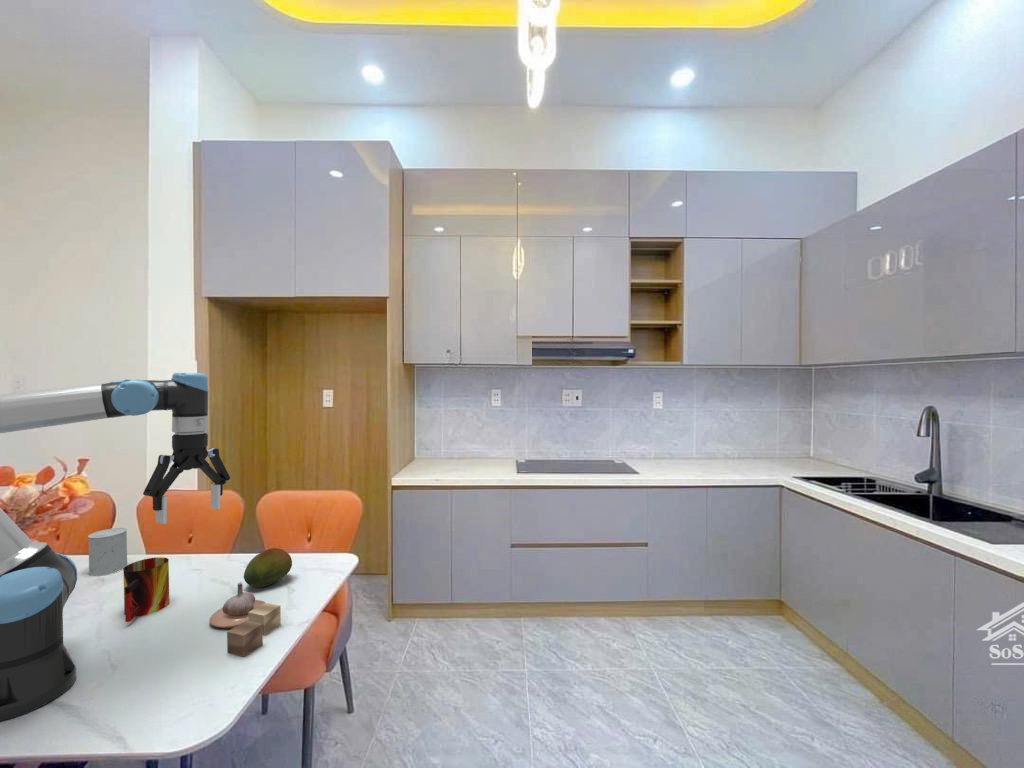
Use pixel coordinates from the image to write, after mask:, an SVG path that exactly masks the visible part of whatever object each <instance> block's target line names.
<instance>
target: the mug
mask: <svg viewBox="0 0 1024 768" xmlns="http://www.w3.org/2000/svg"><path fill="white" fill-rule="evenodd" d="M169 567H170V563H169V558H167V557H163V556H159V557H158V556H157V557H149V558H144V559H140V560H136V561H134V562H131V563H129V564H127V566H125V567H124V569H123V570H122V571H123V573H122V574H123V605H124V607H123V609H124V610H123V611H124V616H125V617H124V618H125V619H124V621H125V622H124V623H129V622H131V621H132V620H134V618H137V617H138V618H139V617H144V616H147V615H152V614H154V613H157V612H159V611H161V610H164V609H165V608H166V607H168V606H169V604H170V575H169V574H170V570H169V569H170V568H169Z"/></svg>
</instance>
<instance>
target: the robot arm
mask: <svg viewBox="0 0 1024 768" xmlns="http://www.w3.org/2000/svg"><path fill="white" fill-rule="evenodd" d="M208 383H209V382H208V376H207V375H206V374H205V373H202V372H174V373H173V374H172V376H171V379H167V380H158V379H157V380H155V379H154V380H153V379H152V380H150V379H122V380H121V379H117V380H115V379H114V380H111V381H110V382H107V383H96V384H95V383H94V384H88V385H79V386H78V385H77V386H65V387H57V388H49V389H40V390H38V389H37V390H29V391H20V392H10V393H0V434H5V433H12V432H20V431H27V430H33V429H41V428H47V427H54V426H61V425H69V424H75V423H83V422H89V421H97V420H103V419H114V418H119V417H120V418H121V417H126V416H127V417H128V416H135V417H136V416H141V415H146V414H148V413H150V412H151V411H152V412H153V411H171V413H172V414H171V416H172V417H171V432H172V433H174V434H172V435H171V449H172V454H171V455H168V454H160V455H158V459H157V465H156V467H155V468H154V470H153V473H152V474H151V477H150V479H149V480H148V482H147V483H146V487H145V488H144V491H143V492H142V494H143V496H146V497H151V498H152V509H153V511H155V523H156V524H159V525H160V524H161V525H166V524H167V522H168V519H167V518H168V516H167V515H168V513H167V512H168V498H167V497H168V496H167V495H165V494H166V492H167V491H168V490H169V489H170V488H171V486H172V485H173V483H174V482H175V481H176V479H177V478H178V477H179V475H180V474H182V473H183V472H184V471H190V470H192V469H193V470H197V469H200V471H201V472H203V473H204V474H205V475H206V476H207V477H208V478H209V479H210V480H211V481H212V483H211V484H210V509H211V510H221V496H223V494H224V493H223V492H224V491H223V486H224V485H225V484H226V483H227V481H230V479H231V476H230V474H229V472H228V471H227V468H226V467H225V465H224V463H223V460H222V458H221V456H220V451H219V450H220V449H219V448H214V447H213V448H211V447H210V448H208V449H207V447H208V445H209V442H208V441H209V435H208V433H207V432H206V431H208V430H209V429H208V427H209V424H208V423H209V419H208V418H209V415H208V414H209V384H208ZM207 457H208V458H209V461H210V463H211V464H212V466H213V468H212V467H211V464H210V463H209V462H208V461H207V460H206V459H207ZM172 462H173V463H172ZM171 463H172V465H171V466H170V464H171ZM164 495H165V496H164ZM77 581H78V568H77V566H76V564H75V562H74V561H73V560H72V559H71V558H70V557H68V556H67V555H65V554H62V553H59V552H55V550H54V549H53V548H52V547H50V545H49V544H48V543H47V542H40V541H38V542H36V541H32V540H31V539H30V538H29V536H28V535H26V533H25V532H24V531H23V530H22V529H21V528H20V526H18V524H16V523H15V521H14V520H12V518H11V517H10V516H9V515H8V514H7V513H6V512H5V511H4V510H3V509H2V508H1V507H0V722H2V721H5V720H9V719H13V718H15V717H19V716H22V715H24V714H27V713H29V712H31V711H33V710H36V709H39V708H40V707H43V706H45V705H46V704H48V703H50V702H52V701H54V700H55V699H57V698H59V697H60V696H62V695H63V694H64V693H65V692H66V691H69V690H70V688H71V687H72V686H73V685H74V683H75V682H76V679H77V668H76V665H75V662H74V661H73V659H72V657H71V655H70V653H69V651H68V650H67V648H66V646H65V644H64V643H65V642H64V618H63V616H64V615H63V614H64V613H63V612H64V607H65V605H66V603H67V602H68V599H69V598H70V596H71V594H72V593H73V591H74V590H75V587H76V584H77Z"/></svg>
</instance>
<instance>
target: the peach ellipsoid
mask: <svg viewBox="0 0 1024 768" xmlns="http://www.w3.org/2000/svg"><path fill="white" fill-rule="evenodd" d="M264 603H266V602H265V601H263V600H258V599H257V600H256V599H255V602H254V604H253V606H254V607H253V609H255V608H257V607H258V606H260V605H262V604H264ZM246 620H247V621H248V614H244V615H227V614H225V613H224V612H223V607H221V608H219V609H218V610H216V611H215V612H214V613H213V614H211V616H210V617H209V623H210V625H211V626H213V627H215V628H220V629H232V628H234V627H236V626H238V625H239V624H241V623H243V622H245V621H246Z"/></svg>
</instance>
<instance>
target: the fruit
mask: <svg viewBox="0 0 1024 768" xmlns="http://www.w3.org/2000/svg"><path fill="white" fill-rule="evenodd" d="M292 566H293V561H292V557H291V555H290V554H289V552H288V551H286V550H284V549H281V548H279V547H271V548H267V549H265V550H263V551H261V552H259V553H258V554H257V555H255V556H253V558H252V559H251V560H250V561H249V562H248V564H247V565H246V567H245V570H244V574H243V579H244V581H245V583H246V584H247V585H248V586H251V587H253V588H260V587H266V586H270V585H271V584H274V583H277V582H279V581H280V580H282V579H283V578H284V577H286V576H287V575H288V573H289V572H290V571H291V569H292Z"/></svg>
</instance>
